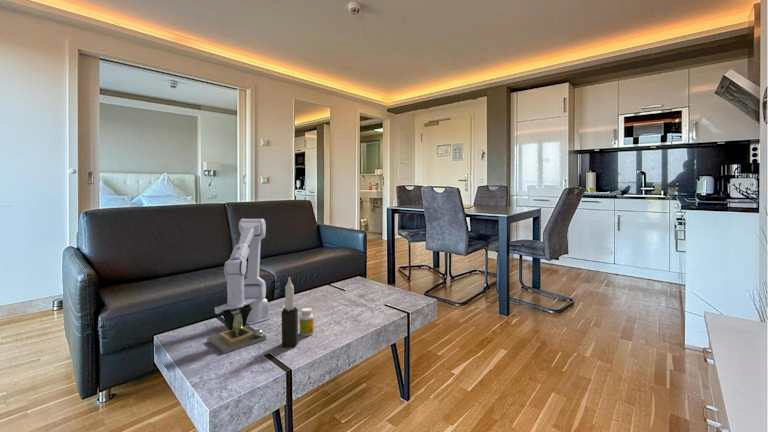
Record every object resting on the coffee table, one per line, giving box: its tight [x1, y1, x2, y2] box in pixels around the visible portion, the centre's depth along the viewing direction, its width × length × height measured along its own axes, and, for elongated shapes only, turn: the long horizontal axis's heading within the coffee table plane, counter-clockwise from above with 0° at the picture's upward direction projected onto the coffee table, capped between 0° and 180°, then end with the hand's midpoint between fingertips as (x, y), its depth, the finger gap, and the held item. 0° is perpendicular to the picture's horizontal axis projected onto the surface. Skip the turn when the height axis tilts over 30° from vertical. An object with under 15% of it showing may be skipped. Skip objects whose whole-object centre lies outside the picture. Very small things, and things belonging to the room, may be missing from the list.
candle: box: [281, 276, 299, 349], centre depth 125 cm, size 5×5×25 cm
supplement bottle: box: [299, 307, 315, 337], centre depth 136 cm, size 5×5×10 cm
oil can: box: [230, 308, 244, 336], centre depth 128 cm, size 5×5×10 cm
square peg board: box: [206, 325, 267, 355], centre depth 128 cm, size 16×14×4 cm
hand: (236, 327), depth 128 cm, fingers closed on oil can, 5 cm apart
